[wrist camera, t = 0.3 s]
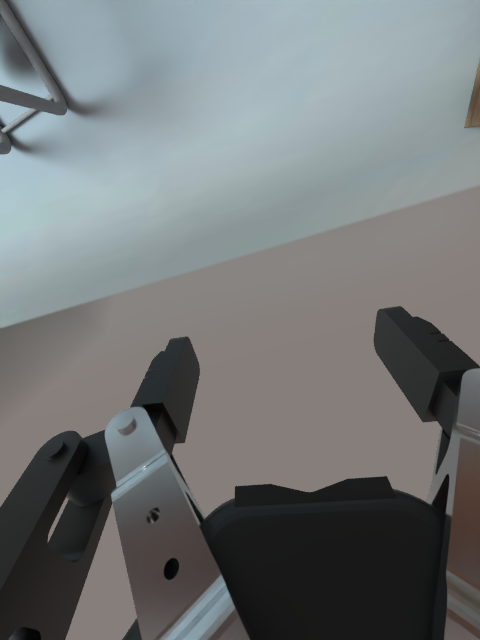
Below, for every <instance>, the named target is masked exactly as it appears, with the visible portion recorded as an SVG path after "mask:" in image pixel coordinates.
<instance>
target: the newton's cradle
mask: <svg viewBox="0 0 480 640" xmlns="http://www.w3.org/2000/svg"><path fill="white" fill-rule="evenodd" d="M0 14H1V16H2V18H3V19H4V21H5V22H6V24H7V26H8V27H9V29H10V30H11V32H12V33H13V35H14V37H15V38H16V40H17V41H18V43H19V45H20V46H21V48H22V49H23V51H24V53H25V54H26V56H27V57H28V59H29V60H30V62H31V64H32V65H33V67H34V68H35V70H36V72H37V73H38V75H39V76H40V78H41V80H42V81H43V83H44V84H45V86H46V87H47V89H48V91H49V92H50V95H49V96H47V97H46V98H45V99H44V98H40V97H37V96H34V95H31V94H27V93H24V92H21V91H18V90H15V89H11V88H8V87H5V86H2V85H0V101H3V102H7V103H11V104H15V105H19V106H23V107H27V108H31V109H29V110H28V111H27V112H25V113H24V114H22V115H21V116H20V117H18V118H17V119H16V120H14V121H13V122H11V123H10V124H9V125H7V126H6V127H5V128H3V129H2V127H1V126H0V154H8V153H9V152H10V151H11V142H10V140H9V138H8V136H7V134H6V132H7V131H9V130H10V129H12V128H13V127H14V126H16V125H17V124H18V123H20V122H21V121H23V120H24V119H25V118H27V117H28V116H30V115H31V114H32V113H34V112H35V111H37V110H40V111H44V112H48V113H52V114H56V115H65V114H66V112H67V104H66V102H65V99H64V97H63V95H62V93H61V91H60V90H59V88H58V87H57V85H56V83H55V82H54V80H53V78H52V77H51V75H50V73H49V72H48V70H47V69H46V67H45V65H44V64H43V62H42V60H41V59H40V57H39V55H38V54H37V52H36V50H35V49H34V47H33V46H32V44H31V42H30V41H29V39H28V37H27V36H26V34H25V32H24V31H23V29H22V28H21V26H20V24H19V23H18V21H17V19H16V18H15V16H14V14H13V13H12V11H11V10H10V8H9V6H8V5H7V3H6V1H5V0H0ZM52 99H54V101H55V102H53V101H51V100H52Z"/></svg>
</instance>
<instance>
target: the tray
mask: <svg viewBox="0 0 480 640" xmlns="http://www.w3.org/2000/svg"><path fill="white" fill-rule="evenodd" d="M479 125H480V61H479V65H478V70H477V74H476V79H475V83H474V87H473V92H472V96H471V101H470V105H469V110H468V114H467V118H466V123H465V127H464V128H466V127H473V126H479Z"/></svg>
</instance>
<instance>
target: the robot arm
mask: <svg viewBox="0 0 480 640" xmlns="http://www.w3.org/2000/svg"><path fill="white" fill-rule="evenodd" d="M374 347H375V350H376V353H377V354H378V356H379V357H380V359H381V360H382V362H383V363H384V365H385V366H386V368H387V369H388V371H389V372H390V374H391V375H392V377H393V378H394V380H395V381H396V383H397V384H398V386H399V387H400V389H401V390H402V392H403V393H404V395H405V396H406V397H407V399H408V401H409V402H410V404H411V405H412V407H413V408H414V410H415V411H416V413H417V414H418V415H419V417H420V419H421V420H422V421H423V422H432V421H438V423H439V424H440V426H441V427H442V428H441V430H440V434H439V440H438V446H437V451H436V458H435V463H434V470H433V475H432V481H431V485H430V489H429V492H428V495H427V499H426V502H425V501H423V500H421V499H420V498H417V497H415V496H413V495H410V494H408V493H405V492H402V491H399V490H395V489H392V487H391V485H390V482H389V480H388V478H387V476H385V477H371V478H355V479H346V480H344V481H341V482H338V483H336V484H333V485H330V486H328V487H325V488H322V489H320V490H317V491H315V492H303V491H299V490H294V489H290V488H286V487H281V486H276V485H272V484H264V485H250V486H236V487H235V498H234V499H231V500H229V501H227V502H225V503H223V504H222V505H220V506H219V507H218V508H216V509H215V510H214V511H213V512H211V513H210V514H209V515H208V516H207V517H205V515H204V513H203V511H202V510H201V508H200V506H199V504H198V503H197V501H196V499H195V497H194V495H193V493H192V491H191V489H190V487H189V485H188V483H187V481H186V479H185V477H184V475H183V473H182V471H181V469H180V467H179V465H178V463H177V461H176V460H175V458H174V455H173V454H172V451H173V447H174V444H176V443H185V439H186V435H187V430H188V425H189V421H190V416H191V412H192V407H193V402H194V398H195V394H196V389H197V384H198V380H199V374H200V368H199V362H198V360H197V357H196V354H195V352H194V349H193V347H192V344H191V341H190V339H189V338H188V337H180V338H173V339H170V341H169V343H168V345H167V347H166V350H165V351H161V352H160V353H159V354H158V355H157V356H156V357H155V358H154V359H153V360H152V362H151V364H150V366H149V369H148V371H147V373H146V375H145V379H143V381H142V383H141V386H140V388H139V390H138V392H137V394H136V396H135V398H134V400H133V403H132V405H131V407H130V408H128V409H125V410H123V411H122V412H120V413H119V414H117V415H116V416H115V417H114V418H113V419H112V420H111V421H110V423H109V424H108V426H107V428H106V430H103V431H100V432H98V433H95V434H93V435H90V436H88V437H85V438H82V437H81V436H80V435H79V434H78V433H77V432H75V431H66V432H63V433H60V434H58V435H56V436H55V437H53V438H52V439H50V440H49V441H48V442H47V443H46V444H44V445H43V446H42V447H41V448H40V449H39V451H38V452H37V453H36V455H35V456H34V458H33V459H32V461H31V463H30V464H29V465H28V467H27V468H26V470H25V471H24V473H23V474H22V476H21V478H20V479H19V480H18V482H17V483H16V485H15V486H14V488H13V489H12V491H11V492H10V494H9V495H8V497H7V498H6V500H5V501H4V503H3V504H2V506H1V507H0V640H65V638H66V636H67V633H68V630H69V627H70V624H71V621H72V618H73V615H74V613H75V610H76V607H77V604H78V601H79V598H80V595H81V592H82V589H83V587H84V583H85V580H86V578H87V575H88V572H89V569H90V566H91V563H92V560H93V557H94V554H95V552H96V549H97V546H98V543H99V540H100V537H101V534H102V531H103V528H104V526H105V522H106V520H107V517H108V514H109V511H110V508H111V505H112V504H113V508H114V513H115V517H116V522H117V527H118V531H119V536H120V541H121V545H122V550H123V554H124V559H125V564H126V568H127V573H128V577H129V582H130V586H131V591H132V595H133V600H134V605H135V609H136V614H137V619H136V620H135V622H134V623H133V625H132V626H131V628H130V629H129V630H128V632H127V633H126V635H125V637H124V638H123V639H122V640H480V366H479V365H478V364H477V363H475V362H474V361H473V360H472V359H471V358H470V357H469V356H468V355H467V354H465V353H464V352H463V351H462V350H461V349H460V348H459V347H458V346H456V345H455V344H454V343H453V342H452V341H449V339H448V338H447V337H446V336H445V335H444V334H441V332H440V331H439V330H438V329H437V328H436V327H435V326H434V325H433V324H432V323H430V322H427V321H426V320H423V319H421V318H419V317H412V316H411V315H410V314H409V313H408V312H407V311H406V310H404V308H402V307H401V306H398V307H391V308H384V309H379V310H378V312H377V317H376V325H375V333H374ZM66 497H67V498H68V499H69V500H68V503H67V505H66V507H65V509H64V511H63V513H62V515H61V517H60V519H59V521H58V524H57V526H56V528H55V530H54V532H53V534H52V536H51V538H50V540H49V542H48V543H47V540H48V534H49V531H50V528H51V526H52V524H53V522H54V520H55V518H56V516H57V514H58V512H59V510H60V507H61V506H62V504H63V502H64V500H65V498H66Z"/></svg>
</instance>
